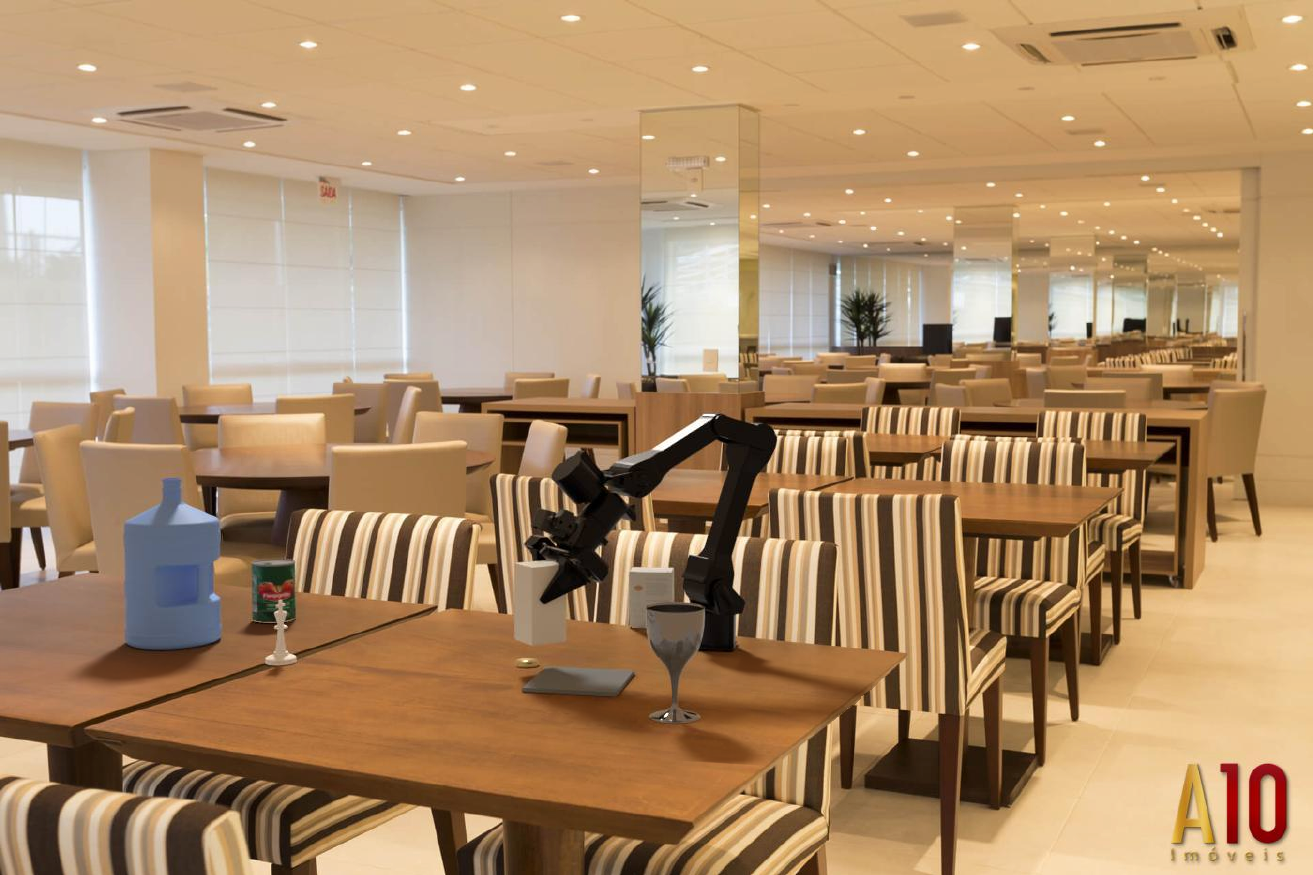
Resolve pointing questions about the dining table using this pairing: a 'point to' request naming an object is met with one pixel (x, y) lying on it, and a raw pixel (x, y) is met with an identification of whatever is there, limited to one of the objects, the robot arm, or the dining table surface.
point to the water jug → (171, 575)
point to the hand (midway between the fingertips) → (532, 599)
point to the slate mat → (579, 681)
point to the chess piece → (280, 641)
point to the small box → (648, 591)
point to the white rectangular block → (537, 604)
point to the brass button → (527, 662)
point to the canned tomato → (273, 588)
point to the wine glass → (675, 648)
